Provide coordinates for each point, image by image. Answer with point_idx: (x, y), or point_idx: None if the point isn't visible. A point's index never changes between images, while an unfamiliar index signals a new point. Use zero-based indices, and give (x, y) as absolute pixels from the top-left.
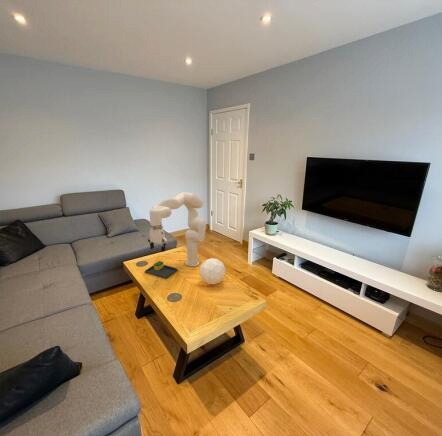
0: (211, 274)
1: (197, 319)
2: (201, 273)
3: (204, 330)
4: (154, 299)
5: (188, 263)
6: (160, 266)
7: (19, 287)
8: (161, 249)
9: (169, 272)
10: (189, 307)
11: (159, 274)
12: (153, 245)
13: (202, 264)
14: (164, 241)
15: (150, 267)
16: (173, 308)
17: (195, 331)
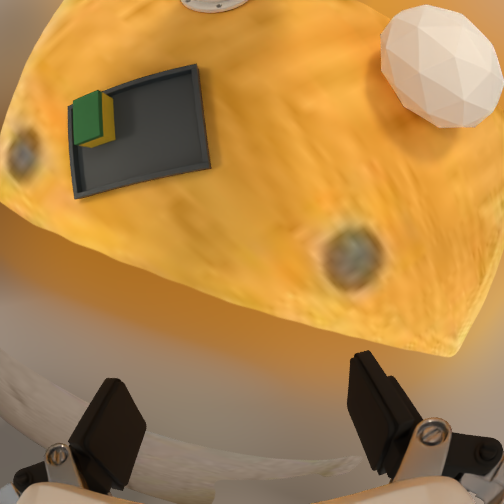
0: (481, 120)
1: (460, 298)
2: (435, 112)
3: (477, 313)
4: (291, 319)
5: (209, 2)
6: (106, 118)
7: (9, 410)
8: (358, 434)
9: (177, 110)
10: (428, 272)
11: (147, 160)
12: (109, 420)
13: (439, 66)
14: (439, 482)
15: (71, 157)
16: (387, 310)
17: (464, 330)
